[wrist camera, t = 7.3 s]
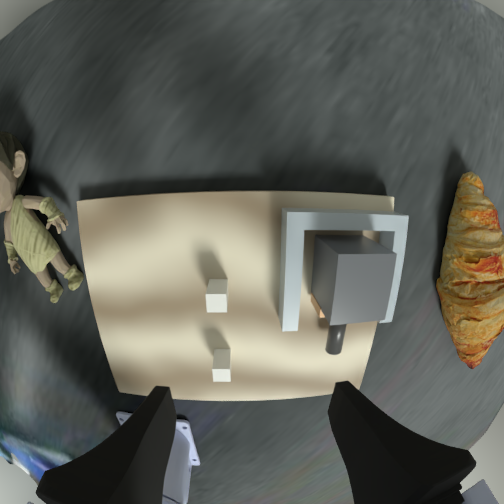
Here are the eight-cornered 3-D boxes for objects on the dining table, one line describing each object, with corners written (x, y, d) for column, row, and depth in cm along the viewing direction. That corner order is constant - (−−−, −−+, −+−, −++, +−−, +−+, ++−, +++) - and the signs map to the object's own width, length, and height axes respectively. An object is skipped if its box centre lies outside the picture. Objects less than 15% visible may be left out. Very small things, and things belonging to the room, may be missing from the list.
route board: (355, 382, 22) (359, 389, 21) (122, 385, 22) (119, 391, 21) (387, 195, 18) (394, 197, 17) (83, 199, 17) (76, 201, 16)
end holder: (379, 309, 19) (391, 321, 17) (278, 316, 19) (282, 331, 17) (393, 211, 17) (408, 215, 15) (281, 207, 17) (287, 211, 15)
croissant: (410, 179, 21) (427, 199, 14) (497, 156, 16) (538, 169, 9) (435, 352, 26) (439, 402, 20) (503, 333, 21) (519, 380, 15)
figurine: (30, 330, 16) (-60, 181, 9) (59, 287, 21) (-16, 163, 15) (85, 296, 15) (-19, 109, 8) (112, 251, 21) (30, 106, 14)
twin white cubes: (231, 361, 20) (230, 381, 17) (215, 361, 20) (213, 381, 17) (227, 278, 18) (226, 293, 16) (209, 278, 18) (205, 294, 16)
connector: (349, 336, 20) (371, 372, 15) (305, 340, 20) (319, 379, 15) (364, 235, 18) (397, 253, 13) (314, 234, 17) (337, 254, 13)
